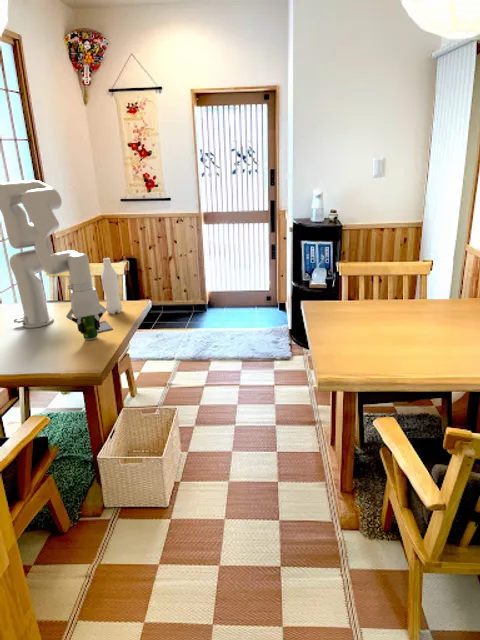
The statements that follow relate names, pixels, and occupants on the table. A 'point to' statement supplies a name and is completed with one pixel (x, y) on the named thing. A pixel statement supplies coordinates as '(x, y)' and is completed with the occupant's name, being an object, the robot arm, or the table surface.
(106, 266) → the water bottle
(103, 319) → the terracotta coaster
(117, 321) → the table surface
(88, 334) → the beer can
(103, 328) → the slate coaster
